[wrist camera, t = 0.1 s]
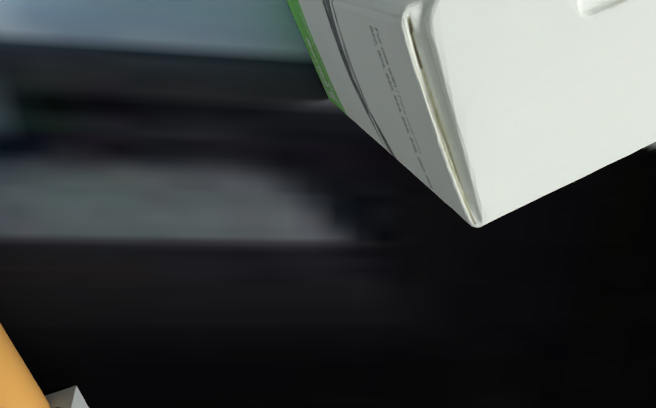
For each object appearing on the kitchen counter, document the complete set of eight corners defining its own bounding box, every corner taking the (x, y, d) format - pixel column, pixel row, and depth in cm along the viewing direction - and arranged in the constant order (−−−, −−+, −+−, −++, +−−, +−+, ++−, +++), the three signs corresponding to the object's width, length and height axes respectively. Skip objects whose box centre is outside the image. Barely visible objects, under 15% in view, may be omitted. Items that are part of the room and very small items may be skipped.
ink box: (327, 104, 22) (470, 249, 11) (275, -25, 19) (393, 7, 9) (525, 11, 22) (841, 67, 12) (496, -126, 20) (859, -210, 9)
